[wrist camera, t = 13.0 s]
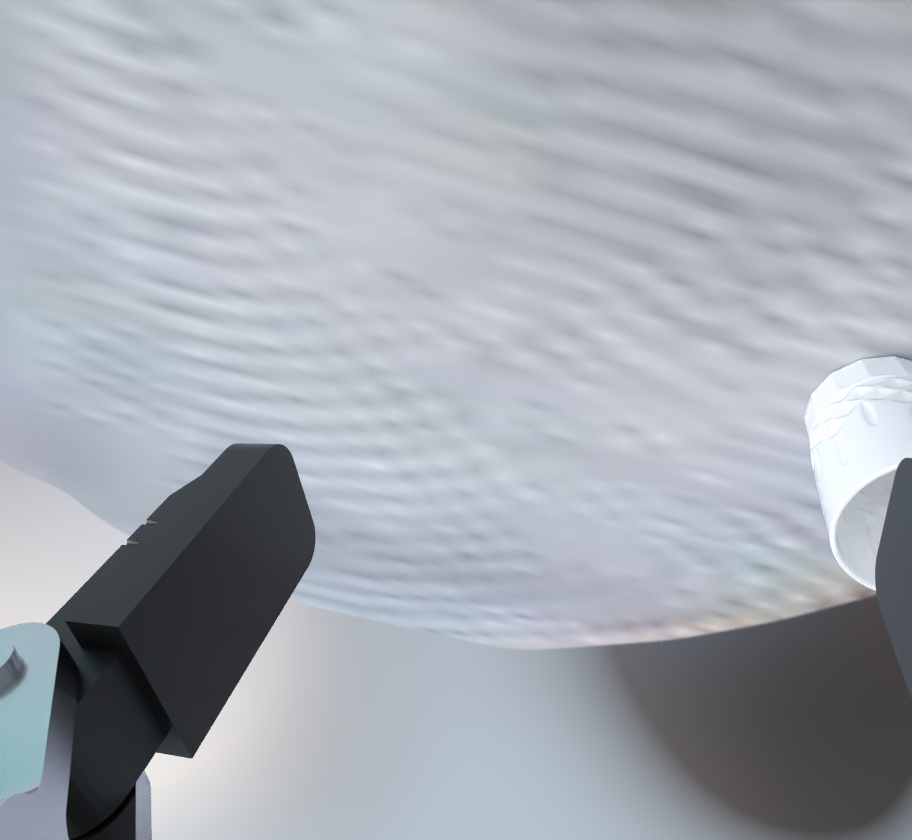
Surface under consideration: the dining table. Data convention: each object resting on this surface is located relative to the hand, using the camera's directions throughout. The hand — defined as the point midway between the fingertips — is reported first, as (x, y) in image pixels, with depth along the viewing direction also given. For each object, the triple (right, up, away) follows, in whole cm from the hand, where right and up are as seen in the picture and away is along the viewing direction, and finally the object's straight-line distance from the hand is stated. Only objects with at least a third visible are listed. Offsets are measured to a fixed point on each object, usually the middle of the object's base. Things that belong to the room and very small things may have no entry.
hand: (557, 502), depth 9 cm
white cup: (+21, +2, +27) cm, 35 cm away
